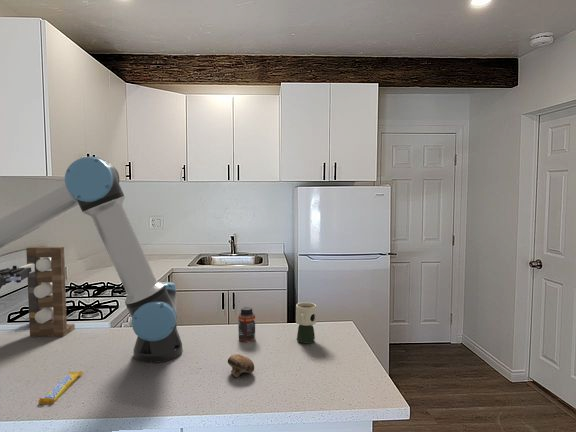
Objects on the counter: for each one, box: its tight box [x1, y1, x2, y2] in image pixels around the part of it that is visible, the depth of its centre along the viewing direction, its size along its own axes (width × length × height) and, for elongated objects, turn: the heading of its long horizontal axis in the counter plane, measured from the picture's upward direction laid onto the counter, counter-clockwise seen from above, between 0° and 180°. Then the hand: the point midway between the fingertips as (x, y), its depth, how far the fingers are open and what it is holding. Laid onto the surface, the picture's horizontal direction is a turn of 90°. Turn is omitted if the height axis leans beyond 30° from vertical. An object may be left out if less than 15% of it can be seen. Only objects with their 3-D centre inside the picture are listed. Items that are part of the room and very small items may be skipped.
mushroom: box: [227, 353, 255, 379], centre depth 121 cm, size 8×8×6 cm
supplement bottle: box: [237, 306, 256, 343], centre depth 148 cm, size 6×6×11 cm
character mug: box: [295, 301, 317, 344], centre depth 147 cm, size 11×7×13 cm, turn 162°
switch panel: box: [25, 246, 76, 338], centre depth 153 cm, size 9×12×32 cm
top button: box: [36, 257, 52, 272], centre depth 151 cm, size 6×4×4 cm
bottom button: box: [35, 308, 53, 323], centre depth 150 cm, size 6×4×4 cm
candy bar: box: [38, 371, 84, 405], centre depth 112 cm, size 17×4×2 cm, turn 2°
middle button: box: [34, 283, 52, 298], centre depth 150 cm, size 6×4×4 cm
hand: (32, 267), depth 142 cm, fingers closed
